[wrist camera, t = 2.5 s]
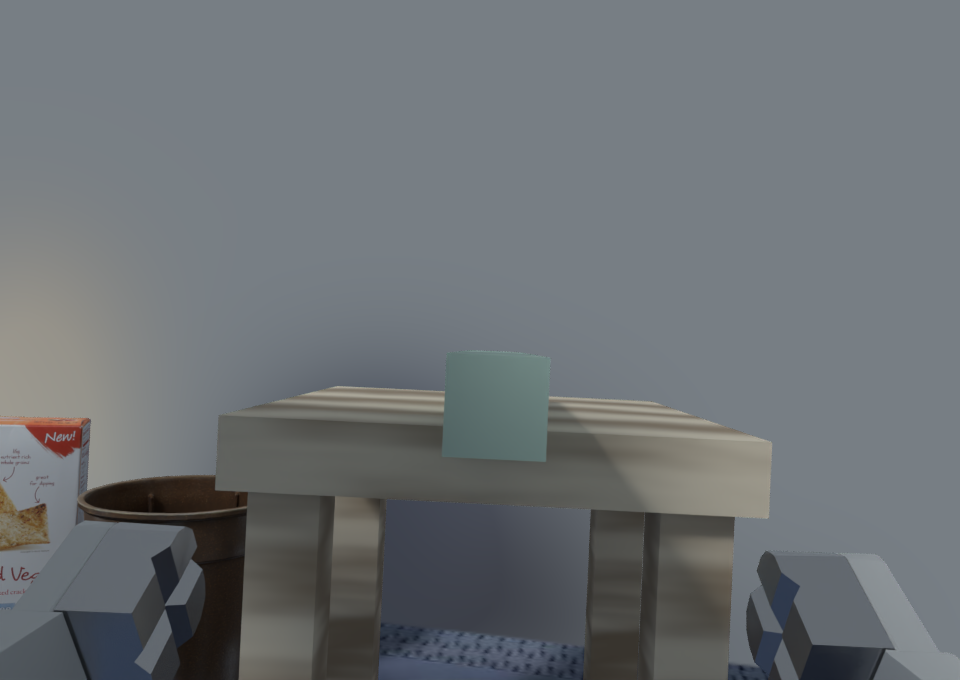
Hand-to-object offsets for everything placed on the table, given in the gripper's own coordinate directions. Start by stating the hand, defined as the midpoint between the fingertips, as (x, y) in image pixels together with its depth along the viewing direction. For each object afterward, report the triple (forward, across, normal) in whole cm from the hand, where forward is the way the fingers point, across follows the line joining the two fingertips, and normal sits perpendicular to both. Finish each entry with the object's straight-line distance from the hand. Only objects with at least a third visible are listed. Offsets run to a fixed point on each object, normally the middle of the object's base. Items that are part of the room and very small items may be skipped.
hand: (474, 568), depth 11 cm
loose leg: (+19, 0, +10) cm, 21 cm away
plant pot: (+31, +26, +47) cm, 62 cm away
